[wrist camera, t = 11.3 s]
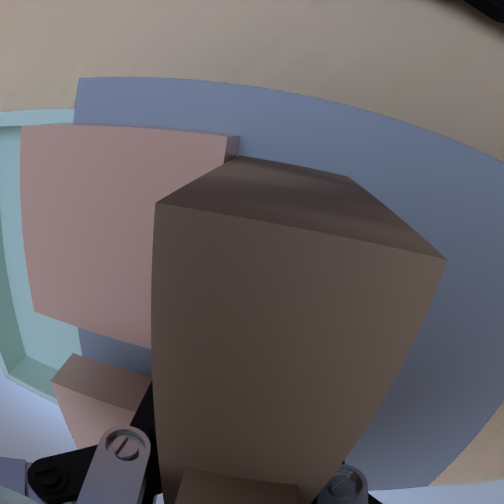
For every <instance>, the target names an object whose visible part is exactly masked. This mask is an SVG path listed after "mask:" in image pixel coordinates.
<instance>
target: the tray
mask: <svg viewBox="0 0 504 504" xmlns="http://www.w3.org/2000/svg"><path fill="white" fill-rule="evenodd" d="M74 110H75V109H40V110H21V111H7V112H0V366H1V368H2V371H3V374H4V376H5V377H6V378H7V379H9V380H11V381H13V382H14V383H16V384H18V385H20V386H22V387H23V388H25V389H27V390H29V391H31V392H33V393H35V394H37V395H39V396H41V397H43V398H45V399H47V400H49V401H51V402H53V403H55V404H57V405H59V404H58V402H57V399H56V396H55V394H54V391H53V388H52V385H51V382H50V380H51V379H52V378H53V377H54V375H55V374H56V373H57V372H58V370H59V369H60V368H61V367H62V366H63V364H64V363H65V362H66V361H67V359H68V358H69V357H70V356H71V355H72V353H75V354H78V355H80V356H82V352H81V346H80V340H79V334H78V327H76V326H73V325H70V324H67V323H64V322H62V321H59V320H56V319H53V318H50V317H48V316H45V315H42V314H40V313H37V312H35V311H34V307H33V302H32V297H31V291H30V286H29V280H28V273H27V266H26V259H25V251H24V242H23V232H22V219H21V202H20V141H21V126H29V125H40V124H53V123H73V119H74Z"/></svg>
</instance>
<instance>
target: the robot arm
mask: <svg viewBox="0 0 504 504" xmlns="http://www.w3.org/2000/svg"><path fill="white" fill-rule="evenodd" d="M161 493H163V491H162V484H161V476H160V468H159V459H158V450H157V439H156V428H155V415H154V400H153V382H152V381H151V383H150V385H149V387H148V389H147V391H146V393H145V395H144V397H143V399H142V401H141V403H140V405H139V407H138V409H137V411H136V413H135V415H134V417H133V419H132V421H131V423H130V425H129V426H127V425H120V426H115V427H112V428H110V429H108V430H107V431H106V432H104V434H103V435H102V437H101V439H100V441H99V444H97V445H94V446H90V447H86V448H82V449H79V450H75V451H71V452H67V453H63V454H58V455H54V456H50V457H45V458H41V459H39V460H36V461H35V462H34V463H28V462H26V460H23V459H13V458H5V457H0V504H155V503H156V498H157V495H158V494H161ZM311 504H382V503H381V502H379V501H378V500H377V499H375V498H374V497H372V496H371V495H370V494H368V483H367V479H366V477H365V476H364V474H363V473H362V472H361V471H360V470H359V469H357V468H355V467H353V466H351V465H347V464H345V460H344V461H343V462H342V464H341V465H340V467H339V468H338V469H337V471H336V472H335V473H334V475H333V476H332V477H331V479H330V480H329V481H328V483H327V484H326V485H325V486H324V488H323V489H322V490H321V491H320V493H319V494H318V495H317V496H316V498H315V499H314V500H313V501H312V503H311Z"/></svg>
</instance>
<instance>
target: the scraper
mask: <svg viewBox="0 0 504 504" xmlns="http://www.w3.org/2000/svg"><path fill="white" fill-rule="evenodd" d="M446 263H447V259H446V258H445V257H444V256H443V255H442V254H441V253H440V252H439V251H438V250H436V249H435V248H434V247H433V246H432V245H431V244H430V243H429V242H428V241H426V240H425V239H424V238H423V237H422V236H421V235H420V234H419V233H417V232H416V231H415V230H414V229H413V228H412V227H410V226H409V225H408V224H407V223H406V222H405V221H403V220H402V219H401V218H400V217H399V216H398V215H396V214H395V213H394V212H393V211H391V210H390V209H389V208H388V207H387V206H385V205H384V204H383V203H382V202H380V201H379V200H378V199H377V198H375V197H374V196H373V195H372V194H370V193H369V192H368V191H367V190H365V189H364V188H363V187H361V186H360V185H359V184H357V183H356V182H355V181H354V180H352V179H351V178H350V177H348V176H344V175H340V174H336V173H331V172H326V171H322V170H317V169H312V168H307V167H303V166H298V165H292V164H287V163H282V162H276V161H271V160H265V159H260V158H254V157H248V156H241V155H239V156H238V157H236V158H234V159H232V160H230V161H228V162H226V163H224V164H222V165H221V166H219V167H217V168H215V169H213V170H211V171H210V172H208V173H206V174H204V175H202V176H201V177H199V178H197V179H195V180H193V181H192V182H190V183H188V184H186V185H185V186H183V187H181V188H179V189H178V190H176V191H174V192H173V193H171V194H169V195H167V196H166V197H164V198H162V199H161V200H159V201H157V202H156V203H155V214H154V230H153V249H152V276H151V356H152V382H153V400H154V415H155V428H156V439H157V450H158V459H159V468H160V476H161V484H162V491H163V498H164V504H311V503H312V501H313V500H314V499H315V498H316V496H317V495H318V494H319V493H320V491H321V490H322V489H323V488H324V486H325V485H326V484H327V483H328V481H329V480H330V479H331V477H332V476H333V475H334V473H335V472H336V471H337V469H338V468H339V467H340V465H341V464H342V462H343V461H344V460H345V458H346V457H347V455H348V454H349V452H350V451H351V450H352V448H353V447H354V445H355V444H356V442H357V441H358V439H359V438H360V436H361V435H362V433H363V432H364V430H365V428H366V427H367V425H368V424H369V422H370V421H371V419H372V417H373V416H374V414H375V412H376V411H377V409H378V407H379V406H380V404H381V402H382V401H383V399H384V397H385V395H386V394H387V392H388V390H389V388H390V387H391V385H392V383H393V381H394V379H395V377H396V376H397V374H398V372H399V370H400V368H401V366H402V364H403V362H404V360H405V358H406V356H407V354H408V352H409V350H410V348H411V346H412V344H413V342H414V340H415V338H416V336H417V334H418V332H419V329H420V327H421V325H422V323H423V320H424V318H425V316H426V314H427V311H428V309H429V307H430V304H431V302H432V299H433V297H434V295H435V292H436V290H437V287H438V284H439V282H440V279H441V277H442V274H443V271H444V268H445V266H446Z"/></svg>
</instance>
